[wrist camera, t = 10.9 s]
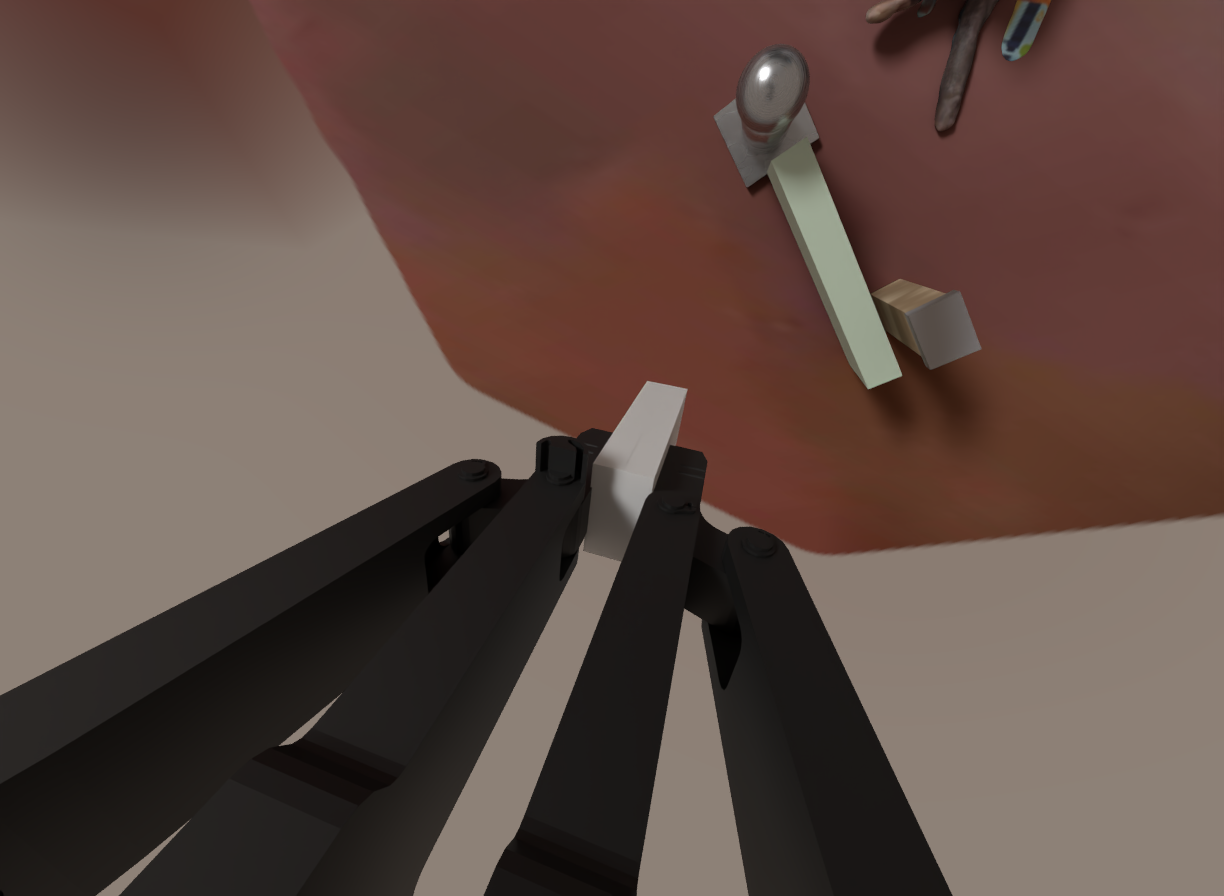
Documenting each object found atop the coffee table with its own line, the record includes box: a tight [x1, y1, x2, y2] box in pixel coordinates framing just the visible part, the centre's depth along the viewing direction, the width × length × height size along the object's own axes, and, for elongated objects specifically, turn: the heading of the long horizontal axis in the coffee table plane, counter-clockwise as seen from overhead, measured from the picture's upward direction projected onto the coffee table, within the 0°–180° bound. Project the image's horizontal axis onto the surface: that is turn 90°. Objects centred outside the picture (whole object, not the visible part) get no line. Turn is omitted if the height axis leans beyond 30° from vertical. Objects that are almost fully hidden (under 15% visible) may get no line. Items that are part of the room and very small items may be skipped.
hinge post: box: [713, 44, 819, 188], centre depth 25 cm, size 5×5×11 cm
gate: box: [767, 137, 902, 389], centre depth 29 cm, size 15×2×6 cm, turn 32°
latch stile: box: [870, 279, 981, 370], centre depth 28 cm, size 2×3×10 cm
